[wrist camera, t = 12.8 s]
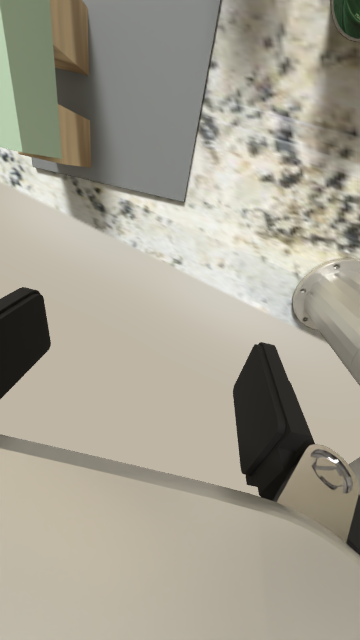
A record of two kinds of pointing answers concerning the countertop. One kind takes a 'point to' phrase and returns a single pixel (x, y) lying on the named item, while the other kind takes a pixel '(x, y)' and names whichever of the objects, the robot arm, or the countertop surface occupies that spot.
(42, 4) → the beam
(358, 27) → the canned tomato
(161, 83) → the mat
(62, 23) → the pillar
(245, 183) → the countertop surface
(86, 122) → the pillar
